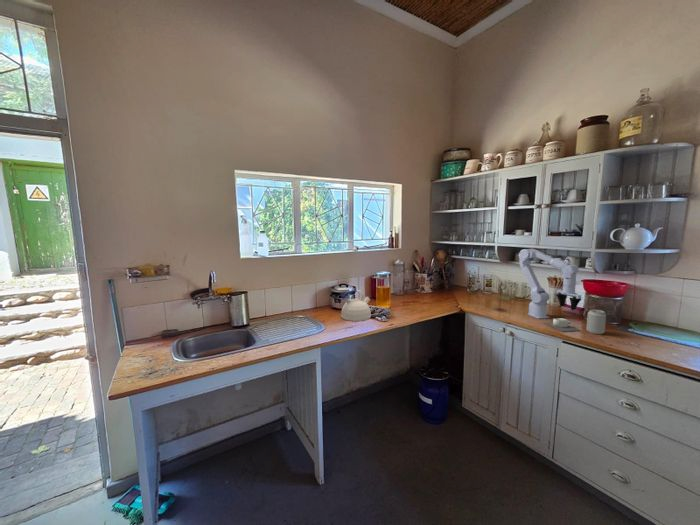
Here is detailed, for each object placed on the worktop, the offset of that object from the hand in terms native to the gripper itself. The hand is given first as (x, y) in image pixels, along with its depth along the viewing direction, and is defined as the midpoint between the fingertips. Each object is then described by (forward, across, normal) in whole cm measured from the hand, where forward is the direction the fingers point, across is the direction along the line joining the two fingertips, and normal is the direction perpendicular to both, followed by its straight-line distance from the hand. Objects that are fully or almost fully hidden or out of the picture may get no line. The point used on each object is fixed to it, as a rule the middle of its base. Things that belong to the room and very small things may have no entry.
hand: (567, 307), depth 166 cm
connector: (+9, +5, -8) cm, 13 cm away
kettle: (+10, -34, -121) cm, 126 cm away
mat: (+9, +5, -8) cm, 13 cm away
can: (+10, +15, +3) cm, 18 cm away
